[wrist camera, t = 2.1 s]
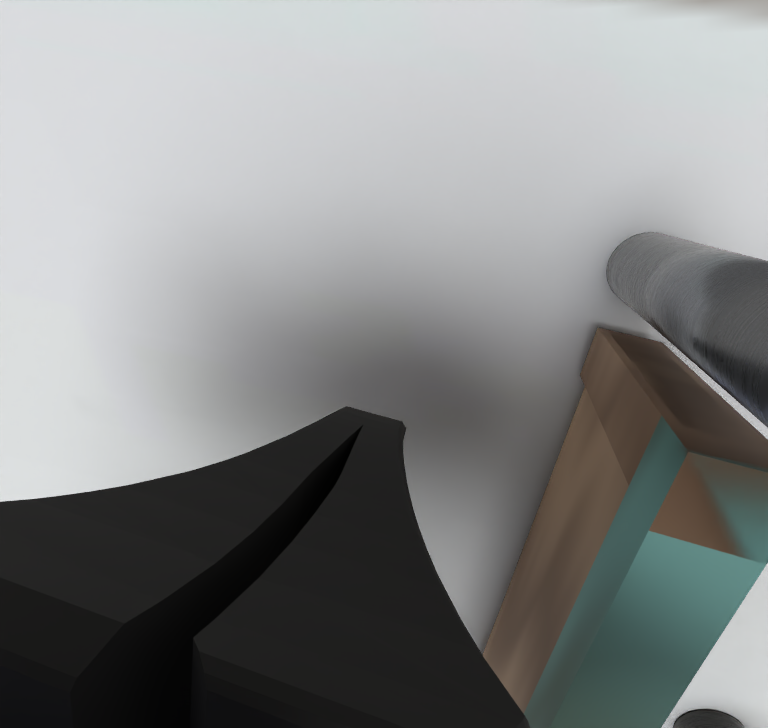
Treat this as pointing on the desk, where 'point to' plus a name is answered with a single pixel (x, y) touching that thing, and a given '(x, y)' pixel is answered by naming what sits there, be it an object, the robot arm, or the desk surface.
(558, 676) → the open box
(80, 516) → the robot arm
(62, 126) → the desk surface
